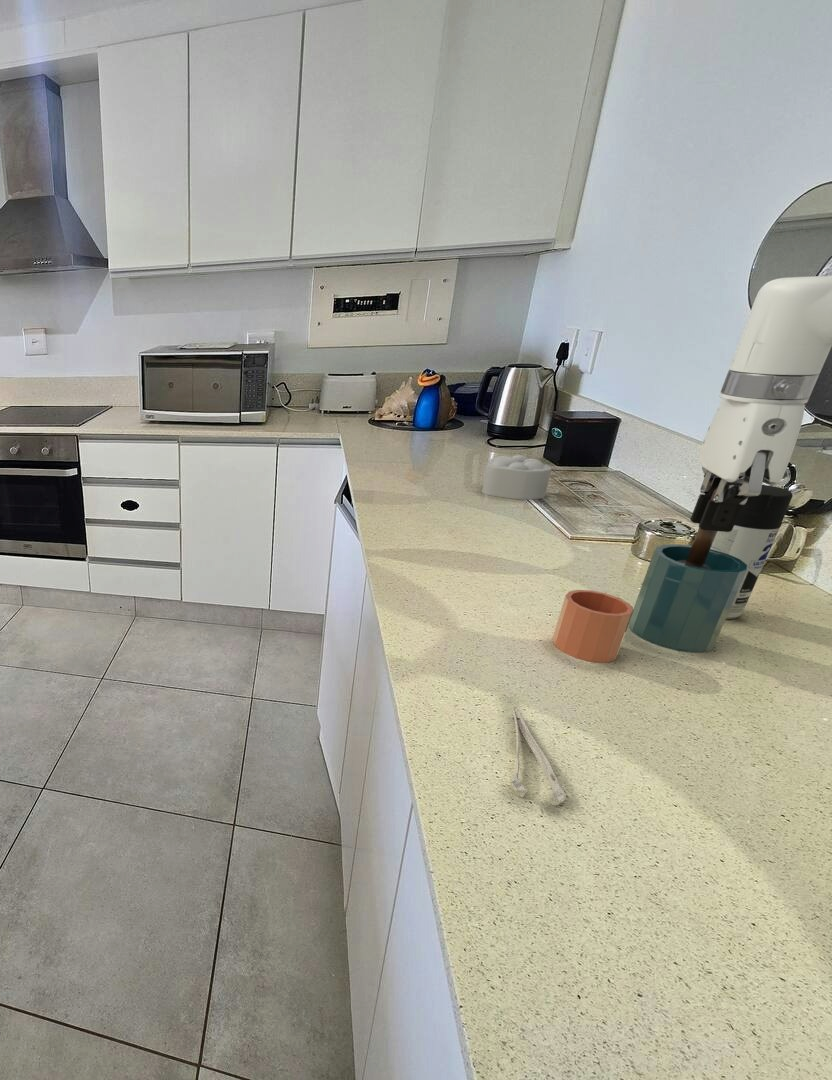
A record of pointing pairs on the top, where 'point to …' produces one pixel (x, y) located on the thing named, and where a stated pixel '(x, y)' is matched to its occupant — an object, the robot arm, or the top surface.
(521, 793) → the forked grey bone
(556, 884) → the top surface
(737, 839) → the top surface
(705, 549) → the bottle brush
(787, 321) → the robot arm
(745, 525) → the spray can
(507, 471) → the lumpy-topped squat cylinder
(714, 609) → the teal faceted cup
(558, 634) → the brush holder
